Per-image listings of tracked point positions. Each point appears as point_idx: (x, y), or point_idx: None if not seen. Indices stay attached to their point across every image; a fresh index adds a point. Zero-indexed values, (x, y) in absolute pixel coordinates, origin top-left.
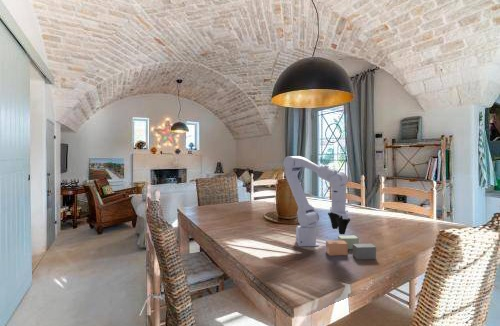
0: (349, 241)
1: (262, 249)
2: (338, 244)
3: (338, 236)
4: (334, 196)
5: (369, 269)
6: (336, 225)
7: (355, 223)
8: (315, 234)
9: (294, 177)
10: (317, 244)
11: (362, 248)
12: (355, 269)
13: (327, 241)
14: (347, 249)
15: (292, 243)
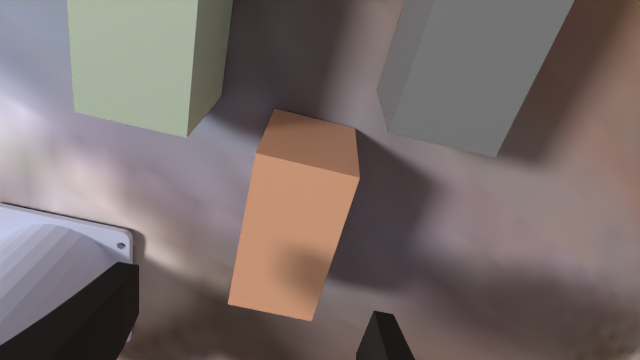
0: (208, 26)
1: None
2: (333, 252)
3: (93, 113)
4: None
5: (635, 142)
6: (112, 316)
7: None
8: (48, 306)
9: None
10: (111, 237)
11: (519, 94)
12: (572, 227)
13: (249, 304)
14: (356, 149)
15: None
